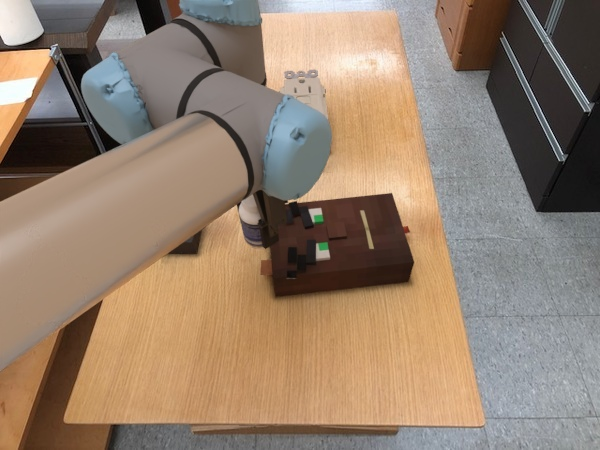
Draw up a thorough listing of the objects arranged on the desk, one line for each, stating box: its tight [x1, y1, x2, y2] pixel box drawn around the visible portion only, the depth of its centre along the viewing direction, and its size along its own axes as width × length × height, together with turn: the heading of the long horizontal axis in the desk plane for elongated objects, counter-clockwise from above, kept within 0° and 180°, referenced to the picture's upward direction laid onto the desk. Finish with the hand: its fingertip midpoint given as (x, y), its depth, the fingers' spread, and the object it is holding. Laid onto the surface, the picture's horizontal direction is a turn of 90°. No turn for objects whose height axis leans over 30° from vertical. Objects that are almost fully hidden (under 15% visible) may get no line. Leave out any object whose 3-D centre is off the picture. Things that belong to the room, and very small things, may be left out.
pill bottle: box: [238, 194, 264, 250], centre depth 69 cm, size 5×5×10 cm
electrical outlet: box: [278, 68, 329, 120], centre depth 109 cm, size 12×28×10 cm, turn 3°
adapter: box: [167, 229, 203, 255], centre depth 92 cm, size 10×10×4 cm
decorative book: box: [260, 192, 415, 298], centre depth 86 cm, size 19×8×30 cm
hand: (259, 231), depth 72 cm, fingers closed on pill bottle, 5 cm apart
